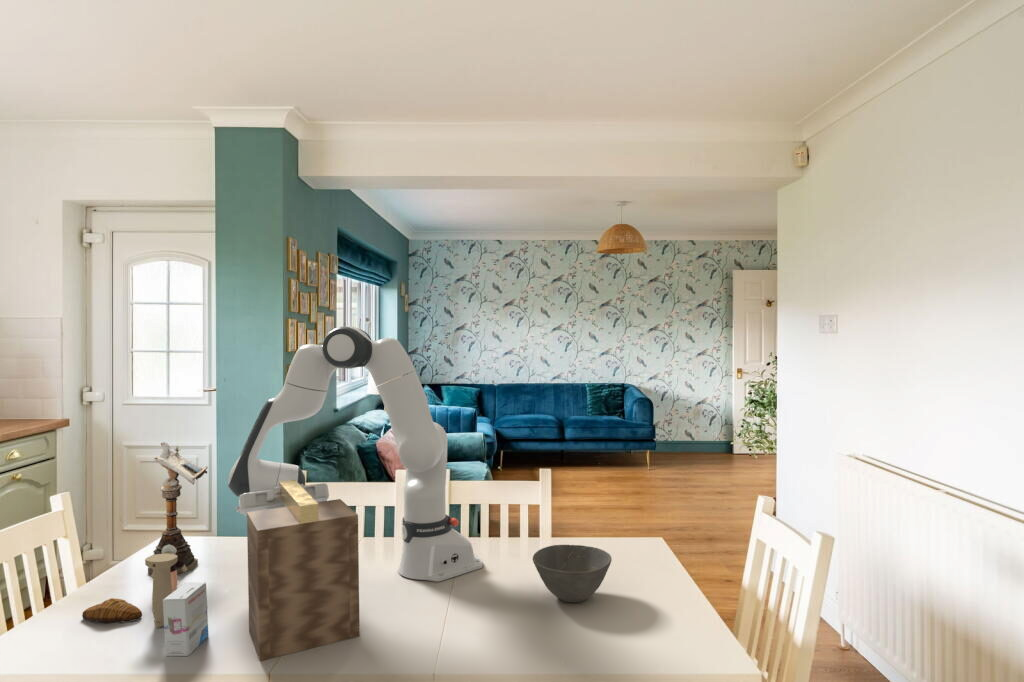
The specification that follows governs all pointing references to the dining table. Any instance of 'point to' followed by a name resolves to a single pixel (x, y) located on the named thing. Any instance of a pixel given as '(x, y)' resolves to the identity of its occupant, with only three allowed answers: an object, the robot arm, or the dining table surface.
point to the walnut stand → (302, 579)
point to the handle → (160, 583)
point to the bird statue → (170, 493)
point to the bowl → (572, 570)
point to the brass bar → (298, 501)
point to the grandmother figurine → (172, 550)
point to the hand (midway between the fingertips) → (289, 488)
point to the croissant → (112, 612)
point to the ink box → (185, 619)
